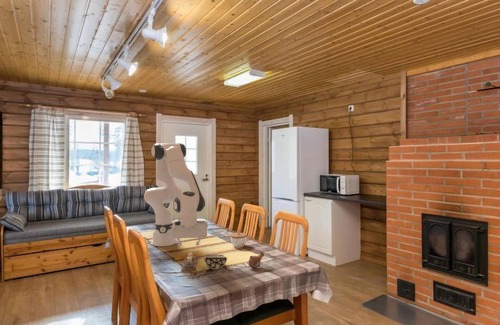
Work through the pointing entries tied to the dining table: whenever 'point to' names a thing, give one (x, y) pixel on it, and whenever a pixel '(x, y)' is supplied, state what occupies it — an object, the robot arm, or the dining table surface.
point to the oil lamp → (255, 260)
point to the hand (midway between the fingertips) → (189, 245)
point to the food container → (215, 261)
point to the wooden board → (189, 268)
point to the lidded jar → (238, 239)
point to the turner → (189, 261)
